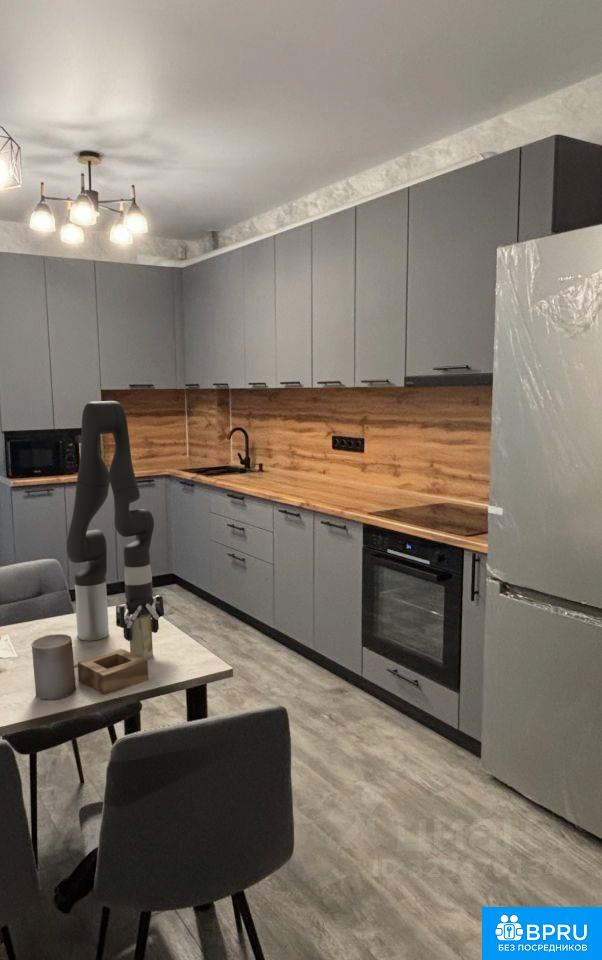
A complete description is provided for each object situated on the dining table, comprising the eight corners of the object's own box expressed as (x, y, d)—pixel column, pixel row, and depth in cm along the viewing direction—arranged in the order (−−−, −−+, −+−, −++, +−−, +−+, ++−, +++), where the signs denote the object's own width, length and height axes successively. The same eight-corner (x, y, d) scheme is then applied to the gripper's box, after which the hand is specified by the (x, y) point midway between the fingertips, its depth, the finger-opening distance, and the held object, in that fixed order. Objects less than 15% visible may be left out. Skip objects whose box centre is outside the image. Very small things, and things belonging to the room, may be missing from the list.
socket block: (78, 681, 187) (77, 661, 186) (121, 666, 196) (120, 648, 195) (104, 695, 178) (103, 675, 177) (148, 679, 187) (147, 660, 186)
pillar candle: (68, 681, 187) (63, 626, 185) (81, 693, 179) (77, 636, 177) (30, 691, 181) (25, 635, 179) (42, 704, 173) (37, 645, 171)
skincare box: (144, 662, 199) (142, 620, 197) (130, 661, 199) (127, 619, 198) (153, 654, 205) (151, 613, 203) (139, 653, 206) (137, 612, 204)
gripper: (152, 573, 207) (155, 627, 209) (108, 583, 197) (112, 640, 199) (167, 577, 202) (170, 632, 203) (123, 588, 191) (127, 646, 193)
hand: (141, 636), depth 201 cm, fingers open, 8 cm apart
